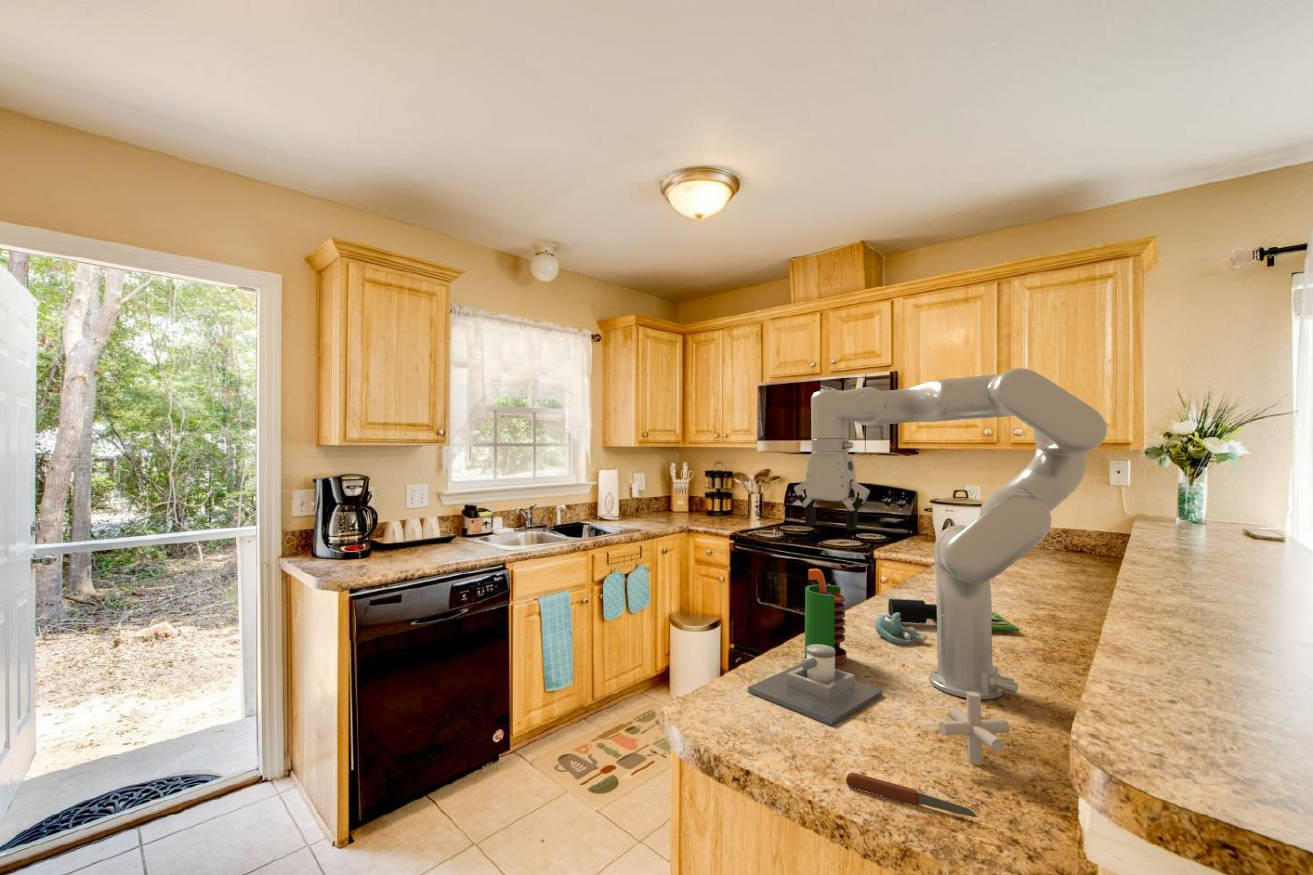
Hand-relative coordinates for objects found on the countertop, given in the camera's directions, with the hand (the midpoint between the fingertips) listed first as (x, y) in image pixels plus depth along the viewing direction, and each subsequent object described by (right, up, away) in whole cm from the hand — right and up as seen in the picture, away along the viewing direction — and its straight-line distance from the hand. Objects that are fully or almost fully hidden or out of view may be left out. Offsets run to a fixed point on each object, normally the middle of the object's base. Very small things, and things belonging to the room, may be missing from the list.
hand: (830, 527), depth 118 cm
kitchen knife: (-4, -29, -46) cm, 54 cm away
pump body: (-6, -29, -12) cm, 32 cm away
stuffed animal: (+23, -31, +19) cm, 43 cm away
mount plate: (-7, -30, -13) cm, 33 cm away
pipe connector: (+10, -29, -36) cm, 48 cm away
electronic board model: (+42, -32, +32) cm, 61 cm away
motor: (0, -31, +5) cm, 31 cm away
